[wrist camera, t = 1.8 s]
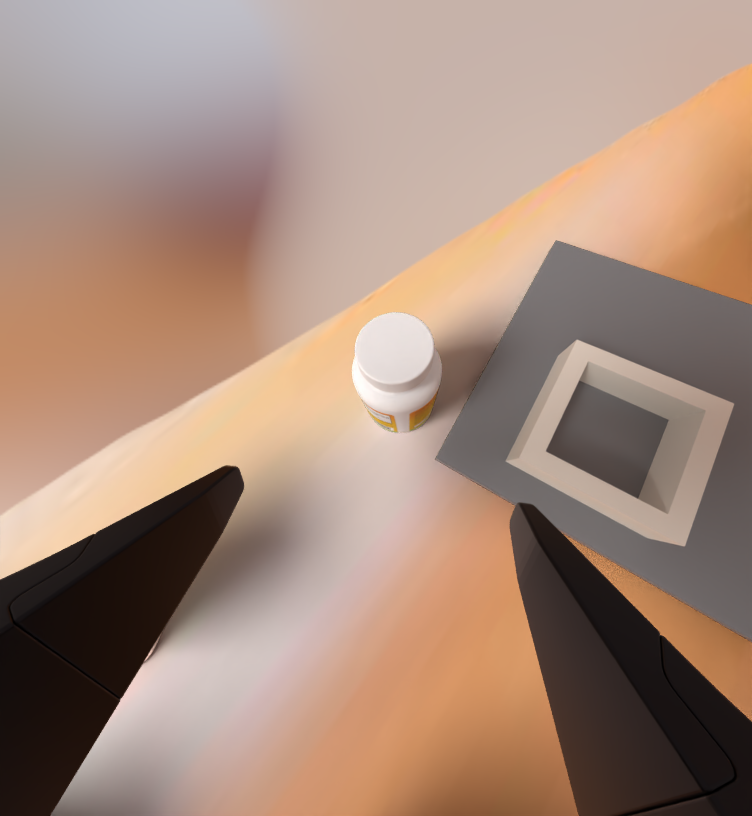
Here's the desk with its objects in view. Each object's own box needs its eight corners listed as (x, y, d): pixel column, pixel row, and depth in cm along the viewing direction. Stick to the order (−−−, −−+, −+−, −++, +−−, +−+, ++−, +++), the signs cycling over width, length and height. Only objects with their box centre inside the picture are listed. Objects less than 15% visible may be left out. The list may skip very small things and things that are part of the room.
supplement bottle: (428, 368, 23) (441, 291, 14) (437, 430, 22) (458, 391, 12) (365, 376, 24) (338, 306, 14) (370, 437, 22) (342, 403, 13)
